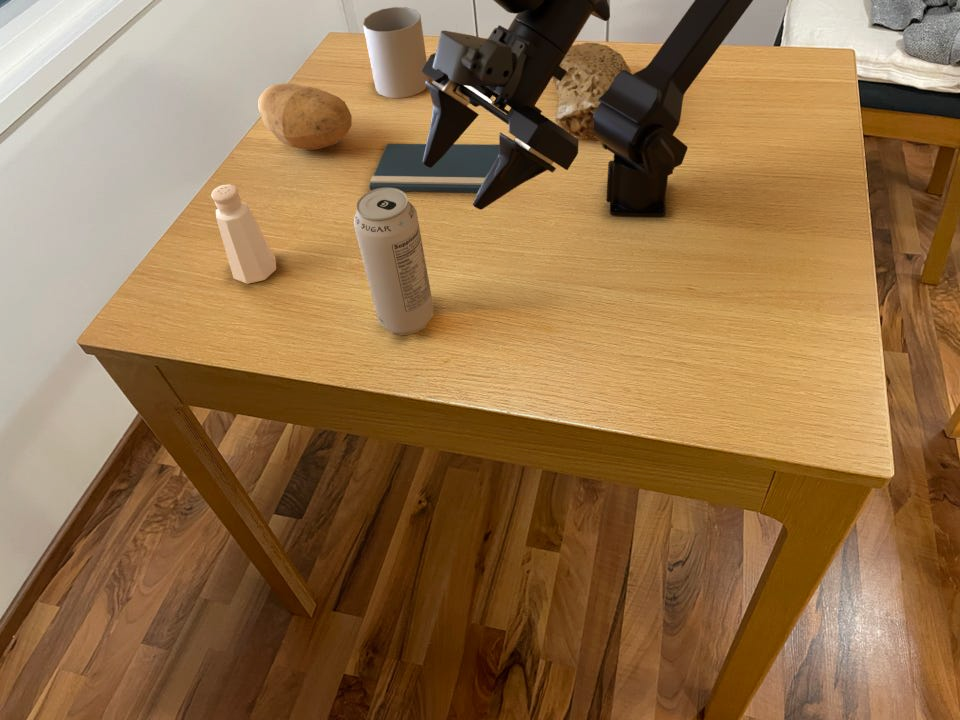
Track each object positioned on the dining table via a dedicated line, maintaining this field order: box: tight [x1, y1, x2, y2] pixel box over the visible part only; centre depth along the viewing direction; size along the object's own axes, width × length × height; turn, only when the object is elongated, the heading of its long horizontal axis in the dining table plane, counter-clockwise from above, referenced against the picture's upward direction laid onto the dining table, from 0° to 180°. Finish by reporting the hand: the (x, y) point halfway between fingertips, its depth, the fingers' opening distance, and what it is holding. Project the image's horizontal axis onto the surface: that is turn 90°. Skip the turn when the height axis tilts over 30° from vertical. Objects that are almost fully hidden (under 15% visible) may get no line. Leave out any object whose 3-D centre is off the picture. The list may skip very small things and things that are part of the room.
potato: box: [257, 82, 353, 151], centre depth 103 cm, size 10×14×8 cm
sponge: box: [551, 42, 632, 139], centre depth 104 cm, size 13×8×20 cm
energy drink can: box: [353, 188, 435, 336], centre depth 74 cm, size 6×6×15 cm
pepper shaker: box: [210, 184, 277, 285], centre depth 84 cm, size 5×5×11 cm
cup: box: [362, 6, 430, 99], centre depth 112 cm, size 8×8×10 cm
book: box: [369, 143, 499, 194], centre depth 98 cm, size 16×10×1 cm, turn 81°
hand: (450, 185), depth 73 cm, fingers open, 9 cm apart
